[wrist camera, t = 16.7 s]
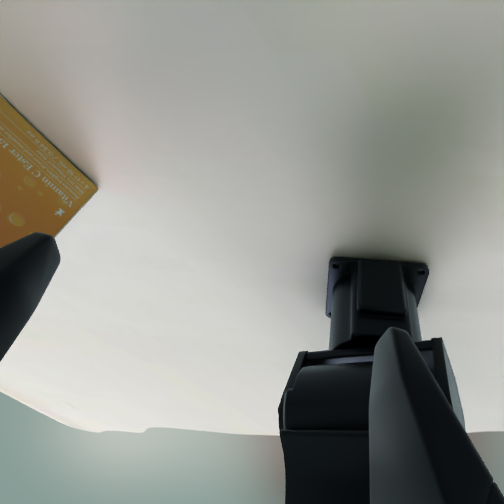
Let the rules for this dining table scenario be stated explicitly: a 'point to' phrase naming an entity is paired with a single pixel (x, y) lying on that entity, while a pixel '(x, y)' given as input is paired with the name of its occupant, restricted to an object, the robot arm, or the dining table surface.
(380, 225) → the dining table surface
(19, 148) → the small box
